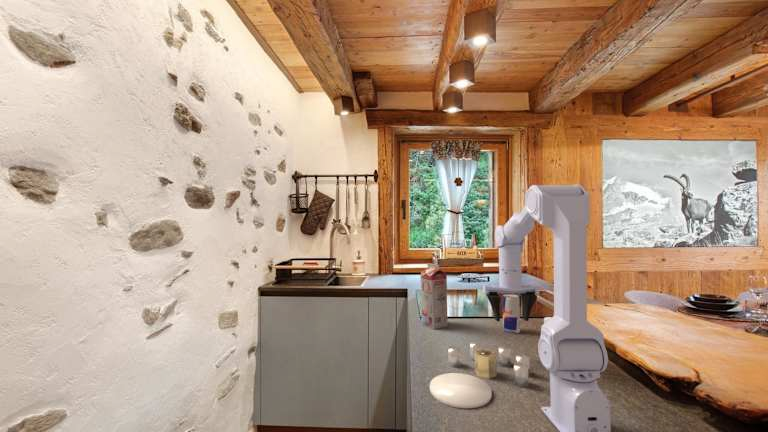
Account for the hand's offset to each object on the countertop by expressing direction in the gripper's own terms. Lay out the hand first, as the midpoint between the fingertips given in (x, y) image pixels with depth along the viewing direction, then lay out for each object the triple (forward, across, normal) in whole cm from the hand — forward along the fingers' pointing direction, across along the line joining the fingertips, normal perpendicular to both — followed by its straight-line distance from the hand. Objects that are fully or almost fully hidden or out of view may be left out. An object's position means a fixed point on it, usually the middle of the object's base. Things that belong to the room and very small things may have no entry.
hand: (511, 319), depth 85 cm
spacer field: (+10, +9, +7) cm, 15 cm away
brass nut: (+10, +10, +9) cm, 17 cm away
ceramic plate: (+10, +18, +17) cm, 27 cm away
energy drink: (+10, -8, -21) cm, 25 cm away
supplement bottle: (+10, -12, -2) cm, 16 cm away
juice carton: (+10, +17, -28) cm, 34 cm away
